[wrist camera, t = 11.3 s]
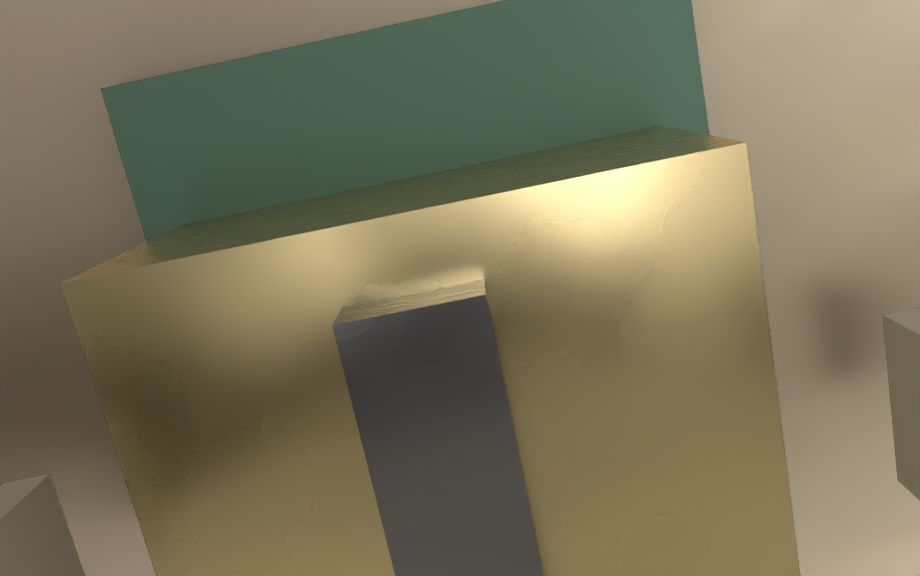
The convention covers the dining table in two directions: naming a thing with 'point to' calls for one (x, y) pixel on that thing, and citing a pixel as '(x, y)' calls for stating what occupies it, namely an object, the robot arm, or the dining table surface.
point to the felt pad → (403, 103)
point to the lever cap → (457, 374)
